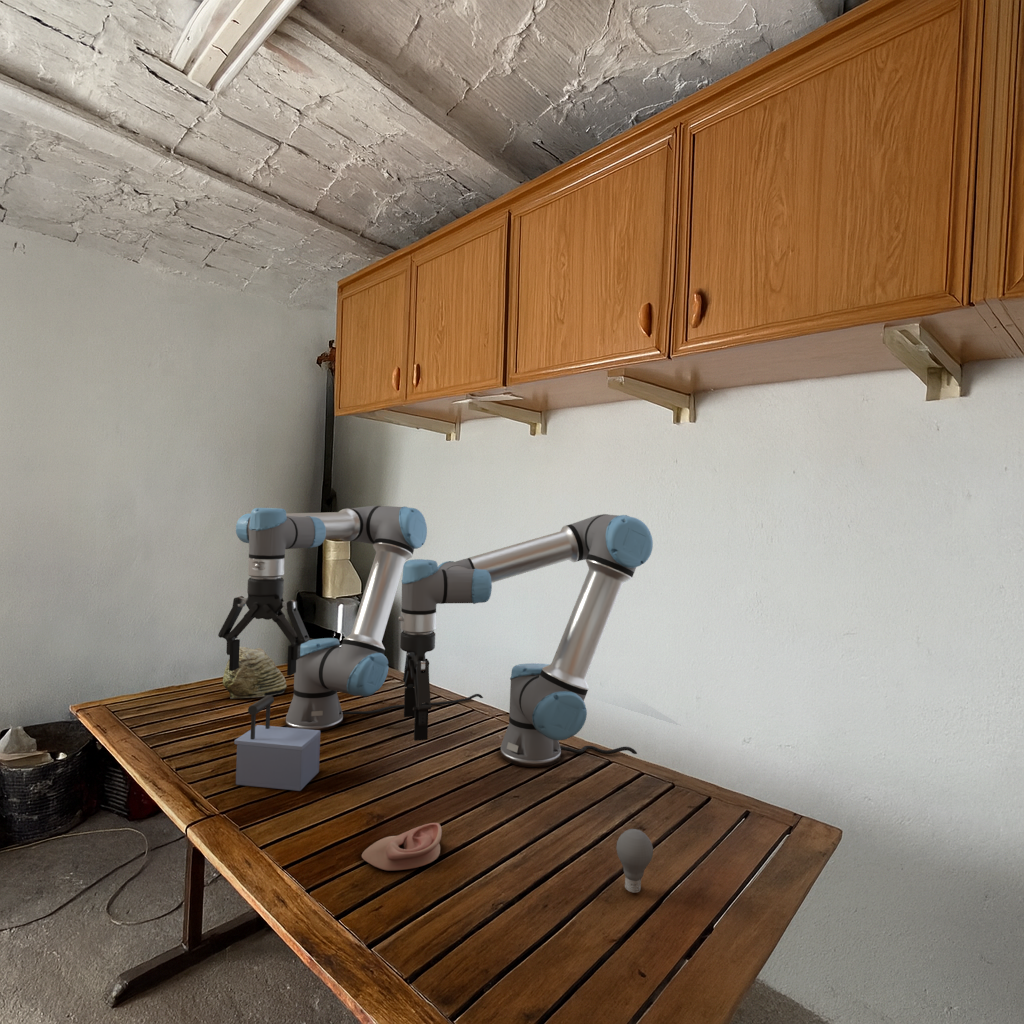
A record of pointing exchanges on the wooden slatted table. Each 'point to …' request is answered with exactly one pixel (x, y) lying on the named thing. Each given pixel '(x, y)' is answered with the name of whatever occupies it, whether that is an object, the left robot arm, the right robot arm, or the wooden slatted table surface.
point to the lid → (274, 731)
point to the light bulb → (634, 857)
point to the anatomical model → (406, 849)
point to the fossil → (254, 675)
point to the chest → (277, 766)
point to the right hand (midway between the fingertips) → (415, 727)
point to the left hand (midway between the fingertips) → (262, 671)
